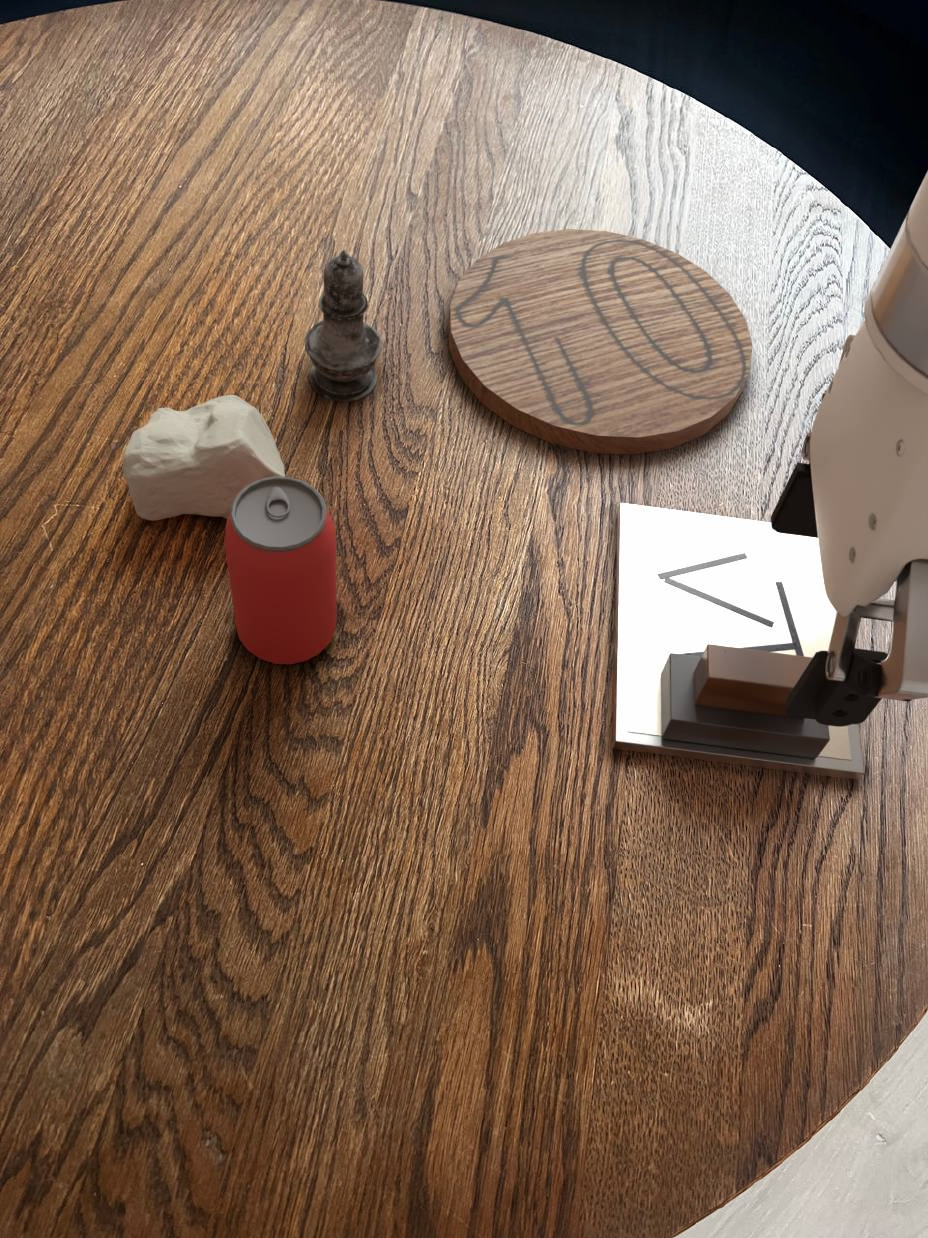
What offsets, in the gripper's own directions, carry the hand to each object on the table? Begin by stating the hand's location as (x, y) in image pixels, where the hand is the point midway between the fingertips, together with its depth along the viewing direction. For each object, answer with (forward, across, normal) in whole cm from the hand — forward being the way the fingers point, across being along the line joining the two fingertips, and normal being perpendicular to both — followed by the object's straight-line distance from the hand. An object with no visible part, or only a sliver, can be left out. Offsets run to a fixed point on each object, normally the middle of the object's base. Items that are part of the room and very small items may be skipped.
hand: (812, 617), depth 49 cm
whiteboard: (+24, +16, -4) cm, 29 cm away
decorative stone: (+24, +24, +34) cm, 48 cm away
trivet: (+24, +44, +6) cm, 51 cm away
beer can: (+24, +12, +26) cm, 38 cm away
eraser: (+23, +9, -4) cm, 25 cm away
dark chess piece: (+24, +36, +26) cm, 51 cm away
